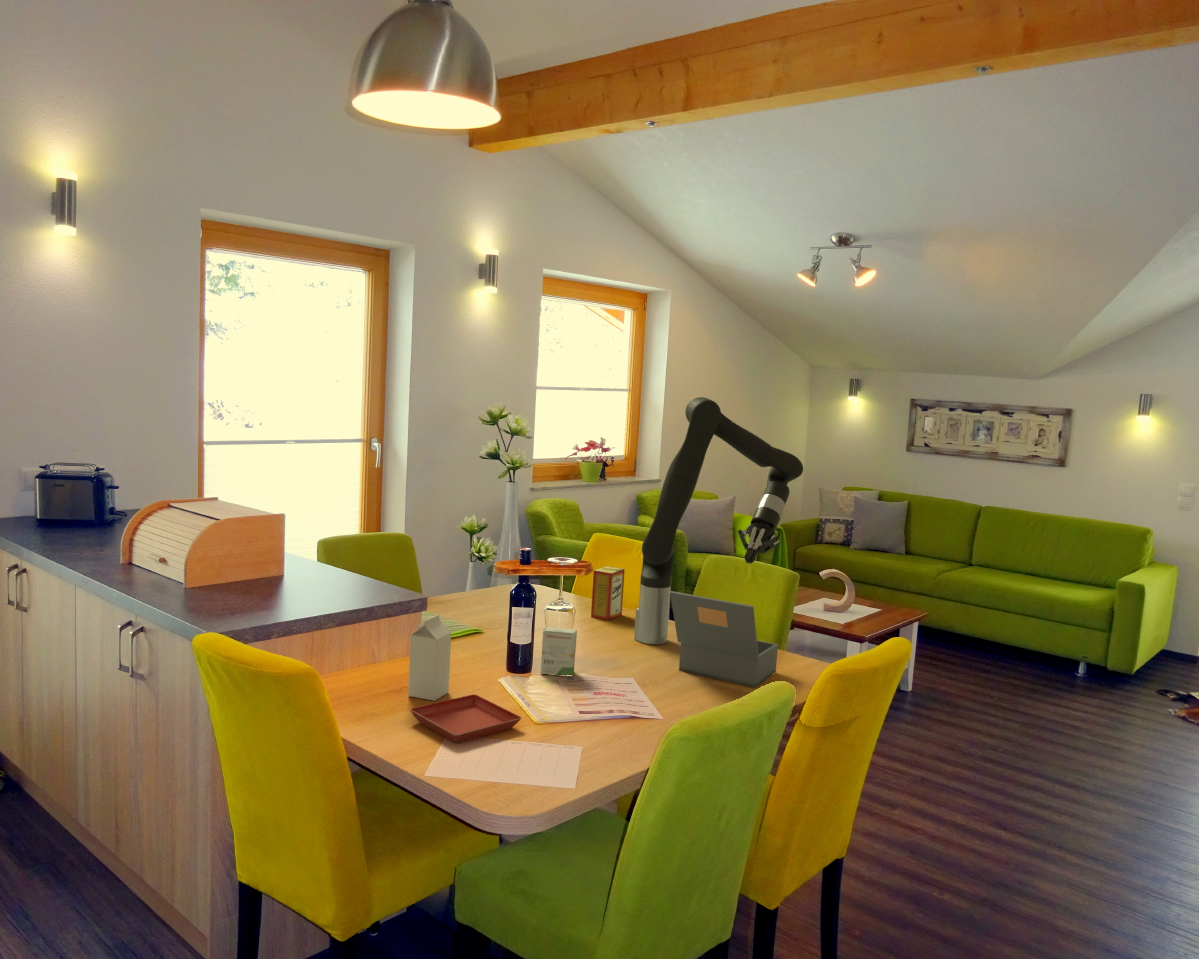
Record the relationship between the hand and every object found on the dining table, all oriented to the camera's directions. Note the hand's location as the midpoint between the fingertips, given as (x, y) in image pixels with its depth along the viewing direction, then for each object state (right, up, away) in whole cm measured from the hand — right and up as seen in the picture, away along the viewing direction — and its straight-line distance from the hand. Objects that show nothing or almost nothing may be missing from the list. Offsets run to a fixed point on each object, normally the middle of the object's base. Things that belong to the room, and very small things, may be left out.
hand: (748, 561), depth 263 cm
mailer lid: (-12, -14, -20) cm, 27 cm away
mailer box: (-7, -29, -8) cm, 31 cm away
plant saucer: (-72, -32, -58) cm, 97 cm away
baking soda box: (-40, -22, +45) cm, 64 cm away
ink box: (-53, -28, -18) cm, 63 cm away
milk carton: (-83, -29, -40) cm, 97 cm away
